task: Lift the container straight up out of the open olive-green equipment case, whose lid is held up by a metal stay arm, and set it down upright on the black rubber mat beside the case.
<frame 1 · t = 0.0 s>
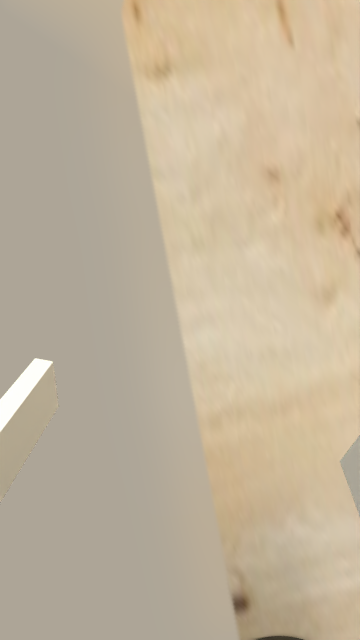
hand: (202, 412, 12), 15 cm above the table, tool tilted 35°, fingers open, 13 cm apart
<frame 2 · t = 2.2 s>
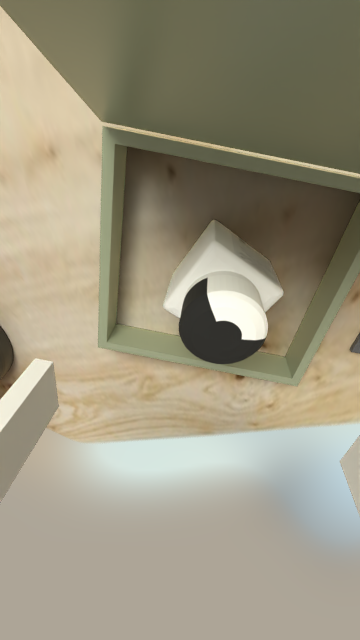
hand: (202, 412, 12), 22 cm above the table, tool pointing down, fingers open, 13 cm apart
container: (219, 267, 32), resting in case
case: (219, 268, 32), on the table
lid: (317, 69, 11), point 15 cm above the table, hinge at 105.0°
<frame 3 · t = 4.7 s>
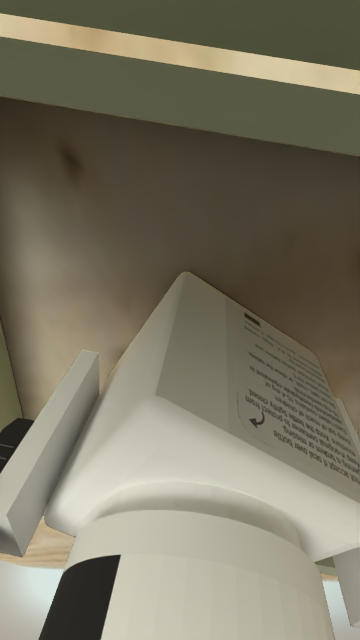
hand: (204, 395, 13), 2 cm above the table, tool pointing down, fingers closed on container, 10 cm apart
container: (206, 360, 15), resting in case, touching gripper
case: (205, 363, 15), on the table
when the fingers open (4 cm above the table, at t = 12.7 s): container drops 1 cm, resting on mat.
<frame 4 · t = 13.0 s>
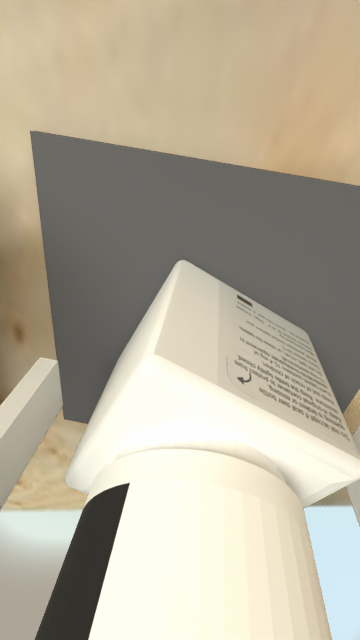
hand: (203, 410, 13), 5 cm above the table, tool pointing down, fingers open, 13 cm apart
container: (206, 343, 17), resting on mat
mat: (207, 341, 17), on the table
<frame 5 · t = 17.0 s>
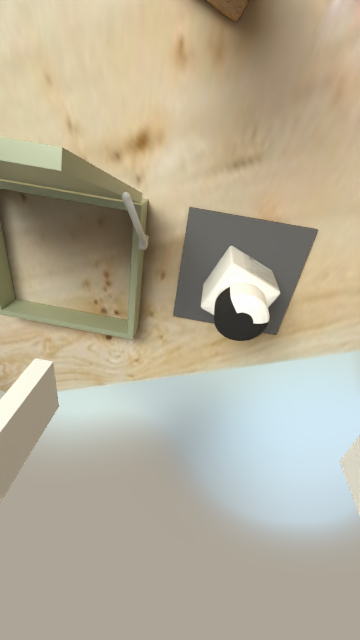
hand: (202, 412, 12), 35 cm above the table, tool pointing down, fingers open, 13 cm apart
container: (236, 277, 46), resting on mat
case: (70, 258, 48), on the table
mat: (237, 276, 46), on the table
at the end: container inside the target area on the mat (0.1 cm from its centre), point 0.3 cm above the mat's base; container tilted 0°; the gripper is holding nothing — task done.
